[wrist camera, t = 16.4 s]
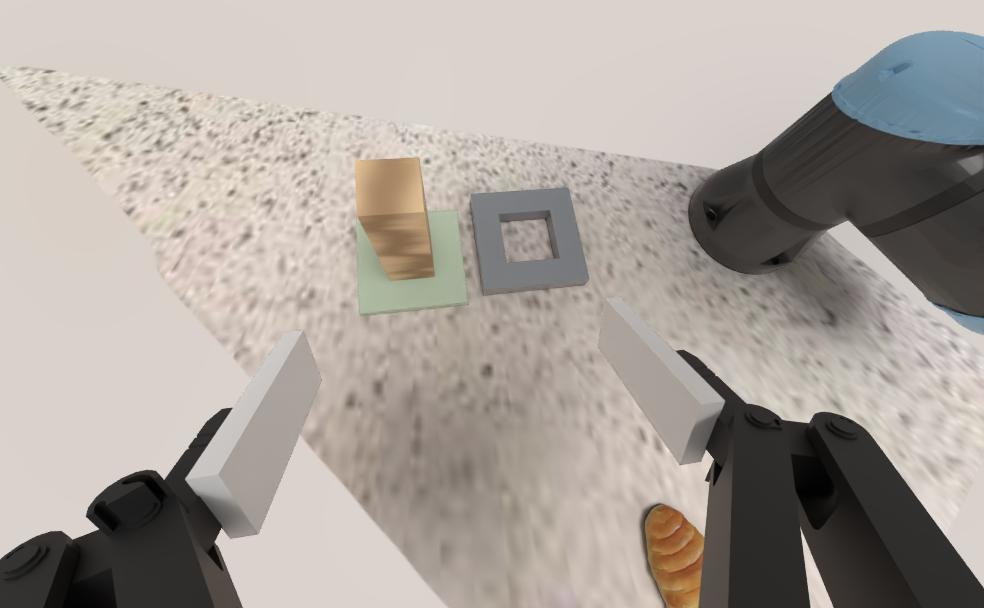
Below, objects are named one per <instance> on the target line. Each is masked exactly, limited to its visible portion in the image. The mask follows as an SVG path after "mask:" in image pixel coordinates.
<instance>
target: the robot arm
mask: <svg viewBox="0 0 984 608" xmlns="http://www.w3.org/2000/svg"><path fill="white" fill-rule="evenodd" d="M689 217H690V223H691V226H692V229H693V232H694V234H695V236H696V238H697V240H698V241H699V243H700V244H701V245H702V247H703V248H704V249H705V250H706V251H707V252H708V253H709V254H710V255H711V256H712V257H713V258H714V259H715V260H717V261H718V262H720V263H721V264H723V265H724V266H726V267H728V268H730V269H733V270H735V271H738V272H741V273H746V274H765V273H769V272H772V271H774V270H777V269H779V268H781V267H784V266H786V265H788V264H790V263H791V262H793V261H794V260H796V259H797V258H798V257H799V256H800V255H801V254H803V253H804V252H805V251H806V250H807V249H808V248H809V247H810V246H811V245H812V244H813V243H814V242H815V241H816V240H817V239H819V238H820V237H821V236H822V235H823V234H824V233H825V232H826V231H827V230H828V229H830V228H832V227H835V226H836V225H839V224H841V223H843V222H845V221H850V222H851V223H852V224H853V225H854V226H855V227H856V228H857V229H858V230H859V231H860V232H861V233H862V234H863V235H864V236H866V237H867V238H868V239H869V240H870V241H871V242H872V243H873V244H874V245H875V246H876V247H877V248H878V249H879V250H880V251H881V252H882V253H883V254H884V255H885V256H886V257H887V258H888V259H889V260H890V261H891V262H892V263H893V264H894V265H895V266H896V267H897V268H898V269H899V270H900V271H901V272H902V273H903V274H904V275H905V276H906V277H907V278H908V279H909V280H910V281H911V282H912V283H913V284H914V285H915V286H916V287H917V288H918V289H919V290H920V291H921V292H922V293H923V294H924V296H925V297H926V299H927V300H928V301H929V302H932V304H933V305H934V306H936V307H937V308H939V309H941V310H943V311H945V312H946V313H947V314H948V315H949V316H950V317H952V318H953V319H954V320H955V321H956V322H958V323H959V324H960V325H962V326H963V327H965V328H967V329H969V330H971V331H973V332H976V333H979V334H982V335H984V37H982V36H979V35H974V34H969V33H965V32H953V31H929V32H923V33H918V34H914V35H911V36H908V37H905V38H902V39H900V40H898V41H896V42H894V43H892V44H890V45H889V46H888V47H886V48H884V49H883V50H882V51H880V52H879V53H878V54H877V55H875V56H874V57H873V58H871V59H870V60H869V61H868V62H866V63H865V64H864V65H862V66H861V67H860V68H859V69H857V70H856V71H855V72H853V73H851V74H849V75H847V76H846V77H844V78H843V79H841V80H840V81H839V82H838V83H837V84H836V85H835V87H834V89H833V91H832V92H831V93H829V95H827V96H826V97H825V98H823V99H822V100H821V101H820V102H819V103H817V104H816V105H815V106H814V107H813V108H811V109H810V110H809V111H808V112H807V113H805V114H804V115H803V116H802V117H801V118H799V119H798V120H797V121H796V122H795V123H793V124H792V125H791V126H790V127H789V128H787V129H786V130H785V131H784V132H783V133H781V134H780V135H779V136H778V137H777V138H775V139H774V140H773V141H772V142H771V143H770V144H768V145H767V146H766V147H765V148H764V149H762V150H761V151H760V152H759V153H757V154H755V155H753V156H751V157H748V158H746V159H744V160H742V161H740V162H737V163H735V164H733V165H730V166H728V167H726V168H724V169H721V170H719V171H717V172H716V173H714V174H713V175H711V176H710V177H709V178H708V179H707V180H706V181H705V182H703V183H702V184H701V185H700V186H699V187H698V188H697V189H696V191H695V192H694V194H693V196H692V198H691V202H690V207H689ZM598 348H599V349H600V351H601V352H602V353H603V355H604V356H605V358H606V359H607V361H608V362H609V364H610V365H611V367H612V368H613V369H614V371H615V372H616V374H617V375H618V377H619V378H620V380H621V381H622V382H623V384H624V385H625V387H626V388H627V390H628V391H629V393H630V394H631V395H632V397H633V398H634V400H635V401H636V403H637V404H638V406H639V407H640V409H641V410H642V411H643V413H644V414H645V416H646V417H647V419H648V420H649V422H650V423H651V424H652V426H653V427H654V429H655V430H656V432H657V433H658V435H659V436H660V437H661V439H662V440H663V442H664V443H665V445H666V446H667V448H668V449H669V450H670V452H671V453H672V455H673V456H674V458H675V459H676V461H677V462H678V464H679V465H683V464H690V463H696V462H701V460H702V458H703V455H704V453H705V450H707V451H708V452H709V453H710V455H711V456H712V457H713V458H714V460H713V463H712V465H711V467H710V470H709V472H708V474H707V477H706V479H705V481H707V482H709V481H710V484H709V495H708V506H707V517H706V528H705V539H704V551H703V562H702V573H701V584H700V595H699V606H698V608H810V600H809V592H808V585H807V577H806V569H805V561H804V554H803V546H802V538H801V530H802V532H803V534H804V537H805V539H806V542H807V544H808V546H809V549H810V551H811V554H812V556H813V559H814V561H815V563H816V566H817V568H818V571H819V573H820V575H821V578H822V580H823V583H824V585H825V588H826V590H827V592H828V595H829V597H830V600H831V602H832V604H833V607H834V608H984V588H983V586H982V585H981V584H980V582H979V581H978V580H977V578H976V577H975V576H974V574H973V573H972V572H971V570H970V569H969V567H968V566H967V565H966V563H965V562H964V561H963V559H962V558H961V557H960V555H959V554H958V553H957V551H956V550H955V549H954V547H953V546H952V544H951V543H950V542H949V540H948V539H947V538H946V536H945V535H944V534H943V532H942V531H941V529H940V528H939V527H938V525H937V524H936V523H935V521H934V520H933V519H932V517H931V516H930V515H929V513H928V512H927V511H926V509H925V508H924V506H923V505H922V504H921V502H920V501H919V500H918V498H917V497H916V496H915V494H914V493H913V492H912V490H911V489H910V487H909V486H908V485H907V483H906V482H905V481H904V479H903V478H902V477H901V475H900V474H899V473H898V471H897V470H896V469H895V467H894V466H893V464H892V463H891V462H890V460H889V459H888V458H887V456H886V455H885V454H884V452H883V451H882V450H881V448H880V447H879V446H878V444H877V443H876V441H875V440H874V439H873V437H872V436H871V435H870V434H869V433H868V432H867V431H866V430H865V429H864V428H863V427H862V426H860V425H859V424H857V423H856V422H854V421H853V420H851V419H849V418H846V417H844V416H842V415H838V414H834V413H830V412H819V413H816V414H815V415H814V416H813V418H812V419H811V421H810V423H802V422H793V421H785V420H782V419H781V418H780V417H779V416H778V415H776V414H775V413H773V412H772V411H770V410H768V409H766V408H763V407H761V406H758V405H753V404H746V403H745V402H744V401H743V400H742V399H741V398H740V397H739V396H738V395H737V394H736V393H735V392H733V391H732V390H731V389H730V388H729V387H728V386H727V385H726V384H725V383H724V382H723V381H722V380H721V379H720V378H719V377H718V376H715V374H714V373H713V372H712V371H711V370H710V369H708V368H707V366H706V365H705V364H704V363H703V362H702V361H701V360H699V359H698V358H697V357H696V356H694V355H692V354H690V353H688V352H687V351H685V350H679V351H675V350H674V349H673V348H672V347H671V346H670V345H669V344H668V343H667V342H666V341H665V340H664V339H663V338H662V337H661V336H660V335H659V334H658V333H657V332H656V331H655V330H654V329H653V328H652V327H651V326H650V325H649V324H648V323H647V322H646V321H645V320H644V319H643V318H642V317H641V316H640V315H639V314H638V313H637V312H636V311H635V310H634V309H633V308H632V307H631V306H630V305H629V304H628V303H627V302H626V301H625V300H624V299H623V298H622V297H621V296H619V297H609V298H605V300H604V307H603V314H602V321H601V328H600V335H599V342H598ZM321 381H322V379H321V376H320V373H319V371H318V368H317V365H316V362H315V360H314V357H313V354H312V351H311V349H310V346H309V343H308V340H307V338H306V335H305V332H304V330H297V331H287V332H284V333H283V334H282V336H281V337H280V339H279V340H278V342H277V343H276V345H275V346H274V348H273V349H272V351H271V352H270V354H269V355H268V357H267V358H266V360H265V361H264V363H263V364H262V366H261V367H260V369H259V370H258V372H257V373H256V375H255V376H254V377H253V379H252V380H251V382H250V383H249V385H248V387H247V388H246V389H245V391H244V392H243V394H242V396H241V397H240V398H239V400H238V401H237V403H236V404H235V406H234V407H233V408H226V409H221V410H220V411H219V412H218V413H217V414H215V415H214V416H213V417H212V418H211V419H210V420H208V421H207V422H206V423H205V425H204V426H203V428H202V429H201V430H200V432H199V433H198V435H197V438H195V439H194V440H193V442H192V443H191V444H190V445H189V449H187V450H186V451H185V452H184V454H183V455H182V456H181V458H180V459H179V461H178V462H177V463H176V465H175V466H174V467H173V469H172V470H171V472H170V473H169V474H168V476H167V477H166V479H165V480H163V478H162V477H161V476H160V475H159V474H158V473H157V472H156V471H153V470H144V471H140V472H135V473H133V474H131V475H128V476H126V477H124V478H121V479H120V480H118V481H117V482H115V483H113V484H112V485H110V486H109V487H107V488H106V489H105V490H104V491H103V492H102V493H100V494H99V495H98V496H97V497H96V498H95V500H94V501H93V502H92V503H91V505H90V506H89V507H88V511H87V514H86V517H87V518H88V519H89V520H90V521H91V522H92V523H93V524H94V525H95V526H97V527H98V528H99V530H97V531H94V532H91V533H89V534H87V535H84V536H81V537H79V538H76V539H73V540H72V539H71V538H70V537H69V536H67V535H66V534H65V533H63V532H62V531H51V532H48V533H45V534H42V535H39V536H36V537H34V538H32V539H30V540H28V541H27V542H25V543H23V544H21V545H19V546H18V547H16V548H15V549H13V550H12V551H11V552H9V553H8V554H6V555H5V556H4V557H2V558H1V559H0V608H243V607H242V605H241V602H240V600H239V597H238V595H237V592H236V590H235V587H234V585H233V582H232V580H231V577H230V575H229V572H228V570H227V567H226V565H225V562H224V560H223V557H222V555H221V552H220V550H219V548H218V546H217V545H216V544H215V543H214V542H215V540H216V538H217V536H218V534H219V532H220V530H221V528H222V529H223V530H224V531H225V533H226V534H227V535H228V536H229V538H230V539H232V538H238V537H244V536H251V535H257V534H259V532H260V529H261V527H262V524H263V522H264V520H265V517H266V515H267V512H268V510H269V507H270V505H271V503H272V500H273V498H274V495H275V493H276V490H277V488H278V486H279V483H280V481H281V478H282V476H283V474H284V471H285V468H286V466H287V464H288V461H289V459H290V457H291V454H292V452H293V449H294V447H295V444H296V442H297V440H298V437H299V435H300V432H301V430H302V428H303V425H304V423H305V420H306V418H307V415H308V413H309V411H310V408H311V406H312V403H313V401H314V398H315V396H316V394H317V391H318V389H319V386H320V384H321ZM800 527H801V530H800Z"/></svg>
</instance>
